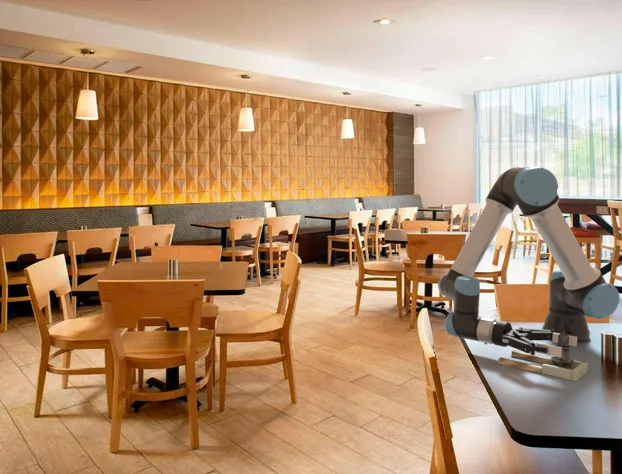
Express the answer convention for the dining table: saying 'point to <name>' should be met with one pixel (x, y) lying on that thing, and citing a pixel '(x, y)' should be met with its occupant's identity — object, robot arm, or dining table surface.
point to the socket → (566, 370)
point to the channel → (526, 365)
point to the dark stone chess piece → (563, 352)
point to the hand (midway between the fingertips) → (569, 346)
